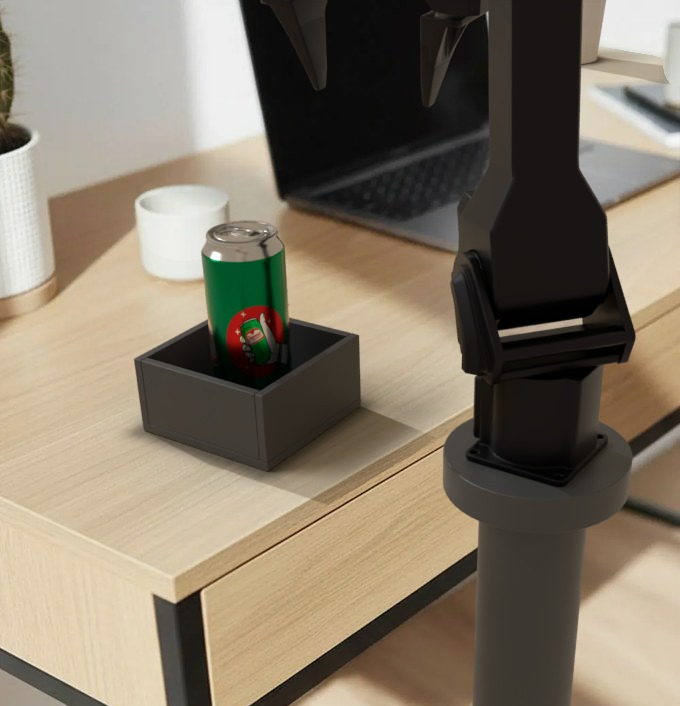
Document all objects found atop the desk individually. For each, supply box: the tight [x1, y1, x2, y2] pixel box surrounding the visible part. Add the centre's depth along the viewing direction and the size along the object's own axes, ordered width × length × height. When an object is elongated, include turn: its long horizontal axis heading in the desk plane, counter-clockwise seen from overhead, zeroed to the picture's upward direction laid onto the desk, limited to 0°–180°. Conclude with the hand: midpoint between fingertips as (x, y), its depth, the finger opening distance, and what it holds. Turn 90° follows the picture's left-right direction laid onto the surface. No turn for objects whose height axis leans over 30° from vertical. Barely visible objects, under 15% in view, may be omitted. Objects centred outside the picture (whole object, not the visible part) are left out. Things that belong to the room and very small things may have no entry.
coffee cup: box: [581, 0, 607, 65], centre depth 161 cm, size 10×10×15 cm
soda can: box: [200, 219, 292, 391], centre depth 75 cm, size 5×5×12 cm
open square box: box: [133, 317, 362, 472], centre depth 77 cm, size 10×10×5 cm
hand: (373, 97), depth 90 cm, fingers open, 9 cm apart
